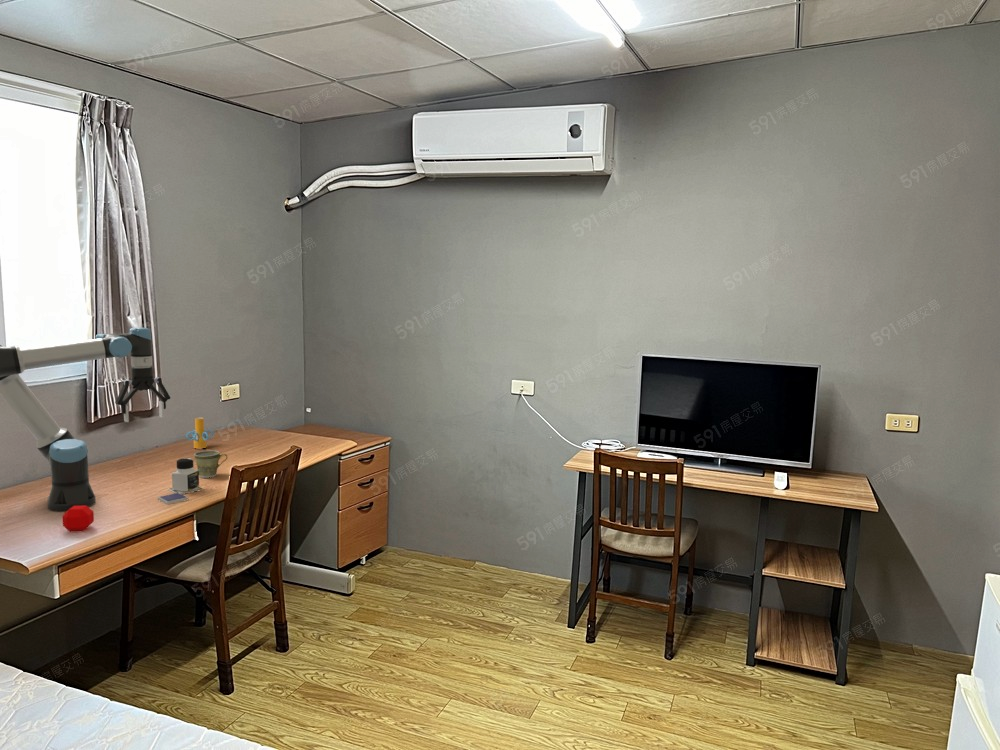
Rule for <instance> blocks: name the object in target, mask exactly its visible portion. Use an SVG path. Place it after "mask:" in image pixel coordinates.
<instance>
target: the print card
mask: <svg viewBox="0 0 1000 750" xmlns="http://www.w3.org/2000/svg"><path fill="white" fill-rule="evenodd" d="M203 489H204V488H203V487H200V486H199V487H198V488H195V489H193V490H191V491H189V492H186V491H175V490H173V489H172V487H169V488H167V491H169V492H172V494H175V493H180V494H183V495H186V494H185V493H188V494H190V492H192V493H195V492H194V491H197V492H199V491H198V490H202V491H204V490H203Z"/></svg>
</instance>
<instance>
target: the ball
mask: <svg viewBox="0 0 1000 750" xmlns="http://www.w3.org/2000/svg"><path fill="white" fill-rule="evenodd" d="M94 515H95V513H94V510H92V509H91V508H90V506H89V507H88V506H86V505H85V506H73V507H72V508H70V509H69V510H68V511H65V513H64V514H63V515H61V516H62V527H64V529H66V530H67V531H68V532H70V533H72V532H71V531H81V532H84V531H86V529H88V528H89V526H90V525H92V524H93V523H94V522H95V519H94V518H95V517H94Z"/></svg>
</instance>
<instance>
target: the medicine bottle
mask: <svg viewBox="0 0 1000 750" xmlns="http://www.w3.org/2000/svg"><path fill="white" fill-rule="evenodd" d="M171 480H172V481H171V483H172V486H171V488H172V489H173V490H175V491H186V492H189V491H191V490H193V489H195V488H198V487H200V477H199V470H198V469H195V468H194V459H193V458H190V457H189V458H188V457H184V458H179V459H178V460H176V471H174V472H171Z"/></svg>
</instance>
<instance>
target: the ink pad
mask: <svg viewBox="0 0 1000 750" xmlns="http://www.w3.org/2000/svg"><path fill="white" fill-rule="evenodd" d="M187 499H188V500H189V497H188V496H187V495H185V494H183V495H182V494H180V493H171V494H165V495H161V496H158V497H157V501H159V500H160V502H162V503H163V504H165V505H171V504H176V503H180V501H181V502H185V501H184V500H186V501H188V500H187Z"/></svg>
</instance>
